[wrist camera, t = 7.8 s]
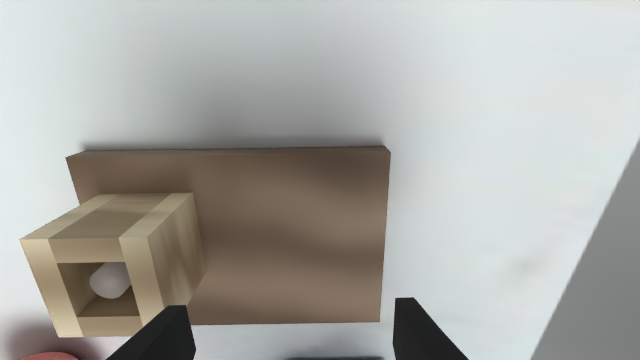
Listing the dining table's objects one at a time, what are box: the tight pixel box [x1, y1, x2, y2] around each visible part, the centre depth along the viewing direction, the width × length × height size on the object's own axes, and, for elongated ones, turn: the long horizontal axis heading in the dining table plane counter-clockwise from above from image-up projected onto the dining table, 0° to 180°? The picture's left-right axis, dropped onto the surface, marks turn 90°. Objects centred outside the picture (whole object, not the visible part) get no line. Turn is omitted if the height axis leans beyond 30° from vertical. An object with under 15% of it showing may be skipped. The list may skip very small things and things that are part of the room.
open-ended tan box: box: [19, 193, 206, 337], centre depth 16 cm, size 5×5×5 cm
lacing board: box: [65, 146, 391, 325], centre depth 17 cm, size 12×18×6 cm, turn 91°
